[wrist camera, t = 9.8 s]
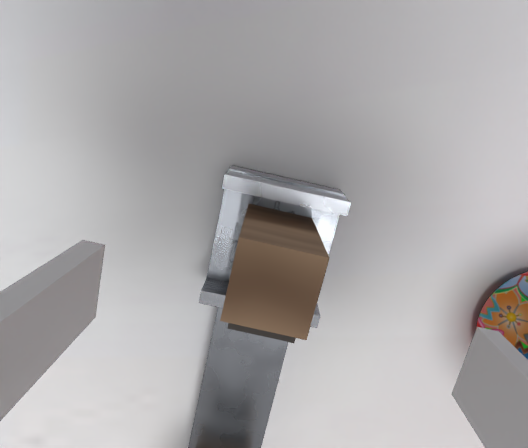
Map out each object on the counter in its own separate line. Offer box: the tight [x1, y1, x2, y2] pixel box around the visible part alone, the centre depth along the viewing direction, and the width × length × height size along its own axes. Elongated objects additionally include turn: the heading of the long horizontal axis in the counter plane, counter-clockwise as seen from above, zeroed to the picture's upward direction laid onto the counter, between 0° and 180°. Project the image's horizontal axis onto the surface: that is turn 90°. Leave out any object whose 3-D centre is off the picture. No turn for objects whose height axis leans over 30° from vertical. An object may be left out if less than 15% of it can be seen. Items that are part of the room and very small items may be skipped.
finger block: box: [220, 204, 329, 343], centre depth 23 cm, size 5×4×8 cm
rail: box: [188, 166, 351, 448], centre depth 26 cm, size 26×7×10 cm, turn 167°
